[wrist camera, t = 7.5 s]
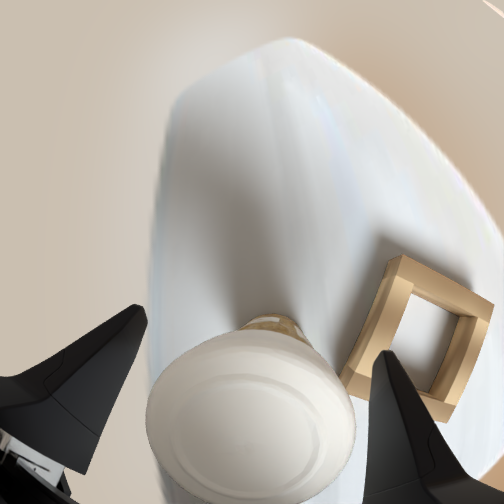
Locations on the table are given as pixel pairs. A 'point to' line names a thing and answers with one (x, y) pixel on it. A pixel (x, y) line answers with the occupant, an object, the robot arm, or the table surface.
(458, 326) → the block
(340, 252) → the table surface
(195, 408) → the sprinkles bottle
